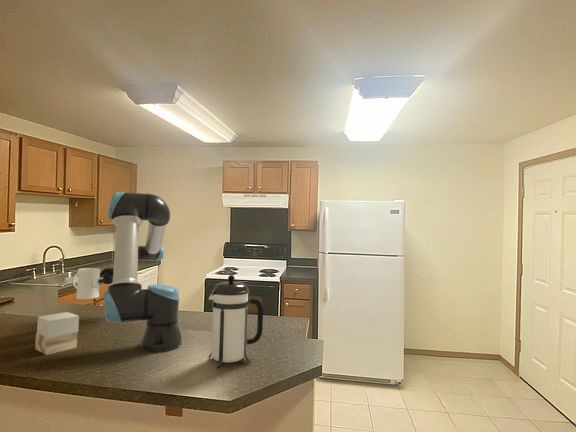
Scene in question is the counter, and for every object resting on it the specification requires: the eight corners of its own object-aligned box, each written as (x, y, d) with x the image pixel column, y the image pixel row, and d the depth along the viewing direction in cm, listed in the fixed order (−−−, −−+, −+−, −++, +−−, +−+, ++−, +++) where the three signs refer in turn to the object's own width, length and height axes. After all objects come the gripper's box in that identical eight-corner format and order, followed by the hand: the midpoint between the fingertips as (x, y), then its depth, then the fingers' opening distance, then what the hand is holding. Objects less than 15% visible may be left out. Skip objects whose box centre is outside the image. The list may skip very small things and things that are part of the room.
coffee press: (240, 373, 107) (242, 279, 109) (197, 365, 113) (201, 275, 114) (262, 355, 124) (264, 273, 125) (224, 349, 129) (227, 270, 131)
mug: (64, 297, 140) (66, 268, 141) (82, 294, 148) (83, 267, 149) (87, 299, 137) (88, 270, 138) (103, 296, 145) (105, 268, 146)
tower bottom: (76, 347, 127) (77, 331, 127) (46, 355, 119) (47, 338, 119) (64, 342, 133) (65, 327, 133) (35, 349, 125) (36, 333, 125)
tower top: (78, 331, 127) (79, 315, 128) (47, 338, 119) (48, 321, 120) (66, 327, 133) (67, 311, 134) (37, 332, 125) (38, 316, 125)
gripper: (134, 284, 159) (104, 292, 138) (88, 282, 162) (52, 289, 141) (135, 268, 160) (105, 273, 138) (89, 266, 163) (53, 271, 141)
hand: (78, 281), depth 139 cm, fingers closed on mug, 11 cm apart
